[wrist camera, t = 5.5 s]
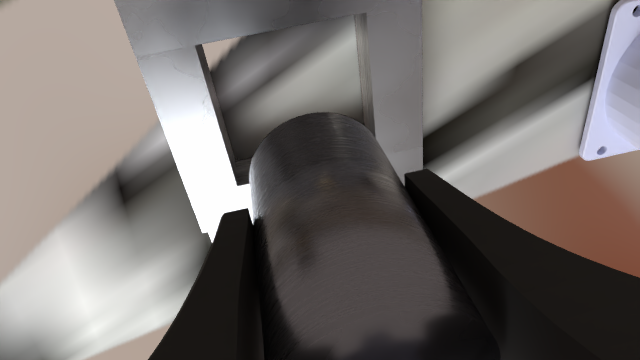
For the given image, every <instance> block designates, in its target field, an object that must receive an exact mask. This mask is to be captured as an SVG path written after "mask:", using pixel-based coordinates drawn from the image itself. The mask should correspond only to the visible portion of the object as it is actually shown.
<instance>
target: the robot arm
mask: <svg viewBox="0 0 640 360" xmlns="http://www.w3.org/2000/svg"><path fill="white" fill-rule="evenodd" d="M636 6H637V9H636V11H635V12H634V13H633V10H634V8H635V7H636ZM600 147H601V148H600ZM599 148H600V149H599ZM598 149H599V150H598ZM634 150H640V0H620V1H619V2H617V3H616V4H615V6H614V7H613V8H612V11H611V14H610V18H609V22H608V27H607V31H606V36H605V40H604V44H603V49H602V53H601V58H600V62H599V66H598V71H597V75H596V80H595V84H594V88H593V93H592V97H591V102H590V106H589V110H588V115H587V119H586V124H585V128H584V132H583V137H582V141H581V146H580V150H579V155H580V156H581V157H582V158H583V159H585V160H594V159H599V158H603V157H607V156H612V155H617V154H621V153H625V152H630V151H634ZM404 181H405V188H406V190H407V191H408V193H409V195H410V196H411V198H412V200H413V201H414V203H415V205H416V206H417V208H418V210H419V212H420V213H421V215H422V217H423V218H424V220H425V222H426V223H427V225H428V227H429V228H430V230H431V232H432V233H433V235H434V237H435V238H436V240H437V242H438V243H439V245H440V247H441V249H442V250H443V252H444V254H445V255H446V257H447V259H448V260H449V262H450V264H451V265H452V267H453V269H454V270H455V272H456V274H457V275H458V277H459V279H460V280H461V282H462V284H463V286H464V287H465V289H466V291H467V292H468V294H469V296H470V297H471V299H472V301H473V302H474V304H475V306H476V307H477V309H478V311H479V312H480V314H481V316H482V317H483V319H484V321H485V322H486V324H487V326H488V328H489V329H490V331H491V333H492V334H493V336H494V338H495V339H496V342H497V344H498V346H499V349H500V355H501V360H640V278H639V277H636V276H633V275H630V274H627V273H624V272H621V271H618V270H615V269H612V268H610V267H607V266H605V265H602V264H600V263H597V262H594V261H592V260H589V259H586V258H584V257H581V256H579V255H577V254H574V253H572V252H569V251H567V250H565V249H563V248H561V247H558V246H556V245H554V244H552V243H550V242H548V241H545V240H543V239H541V238H539V237H537V236H535V235H533V234H531V233H529V232H527V231H525V230H523V229H522V228H520V227H518V226H516V225H514V224H513V223H511V222H509V221H507V220H505V219H504V218H502V217H500V216H498V215H497V214H495V213H494V212H491V211H490V210H489V209H487V208H485V207H483V206H482V205H480V204H479V203H477V202H476V201H474V200H473V199H471V198H470V197H468V196H467V195H465V194H464V193H462V192H461V191H459V190H458V189H456V188H455V187H453V186H452V185H450V184H449V183H447V182H446V181H445V180H443V179H442V178H440V177H439V176H437V175H436V174H434V173H433V172H431V171H430V170H428V169H423V170H418V171H414V172H409V173H405V174H404ZM148 360H265V359H264V348H263V336H262V324H261V313H260V301H259V289H258V277H257V266H256V254H255V241H254V230H253V223H252V219H251V216H250V212H249V209H248V208H244V209H240V210H235V211H230V212H226V213H224V214H223V215H222V216H221V218H220V222H219V225H218V228H217V231H216V234H215V236H214V239H213V242H212V244H211V247H210V249H209V252H208V254H207V256H206V258H205V261H204V263H203V265H202V267H201V270H200V272H199V274H198V276H197V278H196V280H195V282H194V284H193V286H192V288H191V290H190V292H189V294H188V296H187V298H186V300H185V302H184V303H183V305H182V307H181V309H180V311H179V312H178V314H177V316H176V318H175V319H174V321H173V323H172V324H171V326H170V328H169V329H168V331H167V332H166V334H165V335H164V337H163V339H162V340H161V342H160V343H159V345H158V346H157V348H156V349H155V350H154V352H153V353H152V355H151V356H150V358H149V359H148Z"/></svg>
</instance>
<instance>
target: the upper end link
mask: <svg viewBox="0 0 640 360" xmlns="http://www.w3.org/2000/svg"><path fill="white" fill-rule="evenodd" d="M114 1H115V4H116V6H117V9H118V12H119V15H120V17H121V20H122V22H123V25H124V28H125V30H126V33H127V35H128V38H129V41H130V43H131V46H132V49H133V51H134V54H135V56H136V59H137V62H138V64H139V67H140V69H141V72H142V75H143V78H144V80H145V82H146V85H147V88H148V90H149V93H150V96H151V99H152V101H153V103H154V106H155V109H156V112H157V114H158V117H159V120H160V122H161V125H162V128H163V130H164V133H165V135H166V138H167V141H168V143H169V146H170V149H171V151H172V154H173V156H174V159H175V162H176V164H177V167H178V170H179V172H180V175H181V177H182V180H183V183H184V185H185V188H186V191H187V193H188V196H189V198H190V201H191V204H192V206H193V209H194V212H195V214H196V217H197V219H198V222H199V225H200V227H201V230H202V233H204V232H208V231H213V230H217V228H218V225H219V222H220V218H221V216H222V215H223V214H224V213H226V212H230V211H235V210H240V209H244V208H248V209H249V212H250V216H251V219H252V207H251V195H250V184H249V171H245V172H240V173H236V171H235V167H234V164H233V161H232V157H231V154H230V150H229V147H228V144H227V140H226V137H225V133H224V130H223V127H222V123H221V120H220V116H219V113H218V110H217V106H216V103H215V99H214V96H213V93H212V89H211V86H210V82H209V79H208V76H207V72H206V69H205V65H204V62H203V58H202V55H201V52H200V48H199V44H204V43H209V42H215V41H220V40H225V39H230V38H235V37H241V36H246V35H251V34H256V33H262V32H267V31H272V30H277V29H282V28H288V27H293V26H298V25H303V24H308V23H314V22H319V21H324V20H329V19H334V18H340V17H345V16H350V15H355V14H360V19H361V31H362V43H363V55H364V67H365V80H366V92H367V104H368V116H369V128H370V132H371V133H372V134H373V135H374V136H375V138H376V139H377V141H378V143H379V144H380V146H381V148H382V149H383V151H384V153H385V154H386V156H387V158H388V159H389V161H390V163H391V164H392V166H393V168H394V169H395V171H396V173H397V175H398V176H399V178H400V180H401V181H402V183H403V185H404V186H405V181H404V174H405V173H409V172H414V171H418V170H423V125H422V0H114ZM252 222H253V219H252Z"/></svg>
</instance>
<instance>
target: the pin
mask: <svg viewBox="0 0 640 360" xmlns="http://www.w3.org/2000/svg"><path fill="white" fill-rule="evenodd" d="M249 184H250V195H251V207H252V219H253V230H254V241H255V254H256V266H257V277H258V289H259V301H260V313H261V324H262V336H263V348H264V359H265V360H501V355H500V349H499V346H498V344H497V342H496V339H495V338H494V336H493V334H492V333H491V331H490V329H489V328H488V326H487V324H486V322H485V321H484V319H483V317H482V316H481V314H480V312H479V311H478V309H477V307H476V306H475V304H474V302H473V301H472V299H471V297H470V296H469V294H468V292H467V291H466V289H465V287H464V286H463V284H462V282H461V280H460V279H459V277H458V275H457V274H456V272H455V270H454V269H453V267H452V265H451V264H450V262H449V260H448V259H447V257H446V255H445V254H444V252H443V250H442V249H441V247H440V245H439V243H438V242H437V240H436V238H435V237H434V235H433V233H432V232H431V230H430V228H429V227H428V225H427V223H426V222H425V220H424V218H423V217H422V215H421V213H420V212H419V210H418V208H417V206H416V205H415V203H414V201H413V200H412V198H411V196H410V195H409V193H408V191H407V190H406V188H405V186H404V185H403V183H402V181H401V180H400V178H399V176H398V175H397V173H396V171H395V169H394V168H393V166H392V164H391V163H390V161H389V159H388V158H387V156H386V154H385V153H384V151H383V149H382V148H381V146H380V144H379V143H378V141H377V139H376V138H375V136H374V135H373V134H372V133H371V132H370V131H369V129H368V128H366V127H365V126H364V125H363V124H361V123H360V122H358V121H356V120H354V119H352V118H350V117H347V116H344V115H340V114H336V113H311V114H306V115H302V116H298V117H296V118H293V119H291V120H289V121H287V122H285V123H283V124H281V125H280V126H278V127H277V128H275V129H274V130H273V131H272V132H271V133H269V134H268V135H267V136H266V137H265V139H264V140H263V141H262V142H261V143H260V145H259V147H258V148H257V150H256V152H255V154H254V156H253V158H252V162H251V165H250V171H249Z"/></svg>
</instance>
